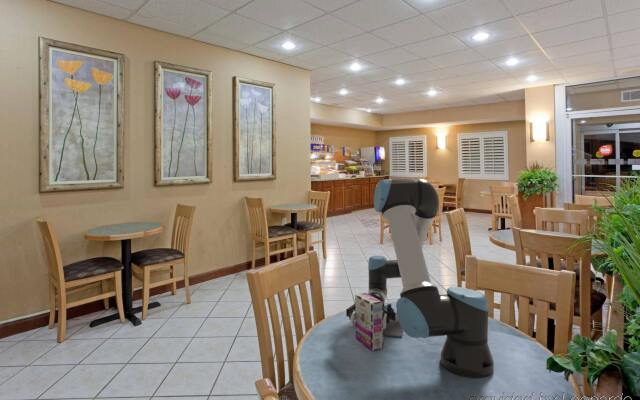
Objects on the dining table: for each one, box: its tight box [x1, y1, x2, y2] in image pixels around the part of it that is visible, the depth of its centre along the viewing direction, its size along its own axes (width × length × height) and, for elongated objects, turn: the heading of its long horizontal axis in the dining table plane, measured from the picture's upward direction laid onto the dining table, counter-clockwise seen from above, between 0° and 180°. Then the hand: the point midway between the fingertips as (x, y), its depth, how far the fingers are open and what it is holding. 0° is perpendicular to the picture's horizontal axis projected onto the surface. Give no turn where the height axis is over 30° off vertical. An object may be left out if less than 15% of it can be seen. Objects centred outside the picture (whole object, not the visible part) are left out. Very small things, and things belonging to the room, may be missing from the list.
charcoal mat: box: [383, 312, 404, 339], centre depth 143 cm, size 17×22×1 cm
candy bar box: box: [354, 292, 384, 352], centre depth 126 cm, size 11×5×16 cm, turn 25°
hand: (367, 323), depth 123 cm, fingers closed on candy bar box, 10 cm apart
